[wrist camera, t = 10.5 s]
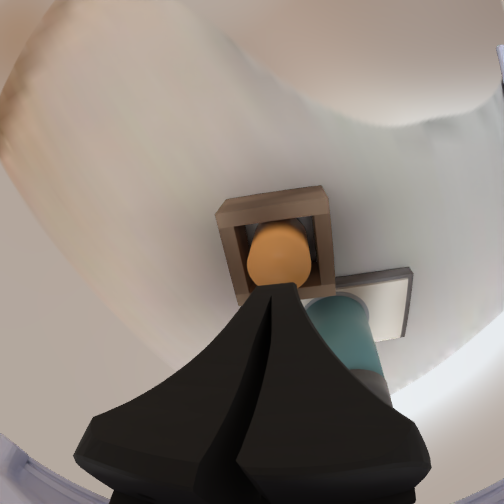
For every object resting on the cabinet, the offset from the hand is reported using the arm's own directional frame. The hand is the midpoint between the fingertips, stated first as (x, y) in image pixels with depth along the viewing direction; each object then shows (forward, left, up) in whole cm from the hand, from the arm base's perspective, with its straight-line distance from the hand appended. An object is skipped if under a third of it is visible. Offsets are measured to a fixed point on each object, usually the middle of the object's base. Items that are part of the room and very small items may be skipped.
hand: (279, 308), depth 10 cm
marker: (-2, +6, -5) cm, 8 cm away
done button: (0, 0, -6) cm, 6 cm away
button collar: (0, 0, -6) cm, 6 cm away
